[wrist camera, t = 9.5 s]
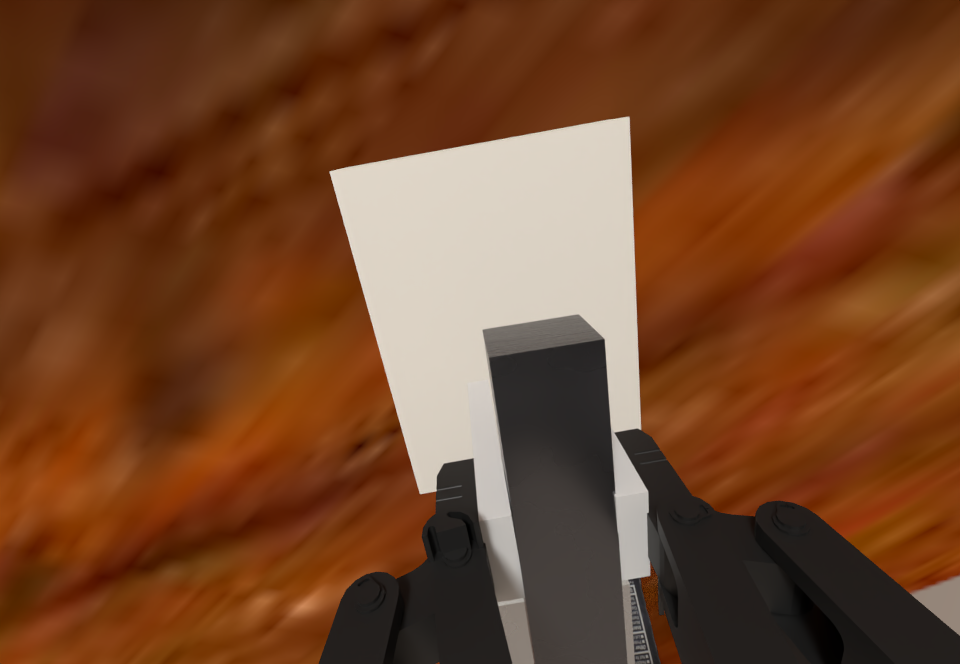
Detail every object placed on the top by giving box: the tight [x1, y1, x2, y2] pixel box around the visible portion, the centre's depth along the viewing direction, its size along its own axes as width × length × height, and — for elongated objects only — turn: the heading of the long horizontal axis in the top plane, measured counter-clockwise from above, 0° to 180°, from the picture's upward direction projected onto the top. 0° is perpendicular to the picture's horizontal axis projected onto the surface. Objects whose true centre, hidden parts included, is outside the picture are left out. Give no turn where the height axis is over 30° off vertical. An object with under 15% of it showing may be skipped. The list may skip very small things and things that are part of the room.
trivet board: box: [330, 117, 641, 494], centre depth 23 cm, size 16×12×3 cm
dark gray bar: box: [482, 314, 635, 664], centre depth 16 cm, size 24×6×6 cm, turn 8°
